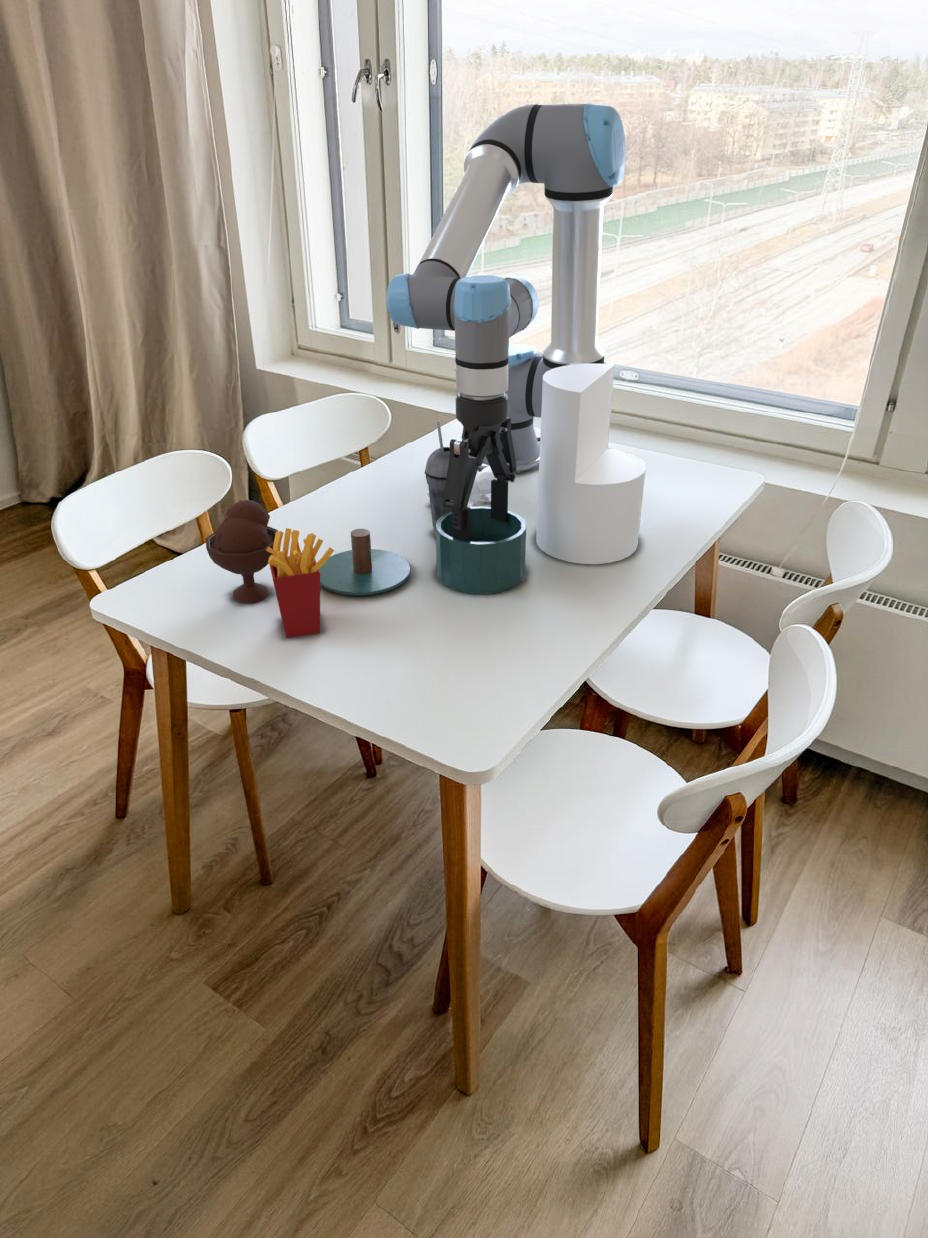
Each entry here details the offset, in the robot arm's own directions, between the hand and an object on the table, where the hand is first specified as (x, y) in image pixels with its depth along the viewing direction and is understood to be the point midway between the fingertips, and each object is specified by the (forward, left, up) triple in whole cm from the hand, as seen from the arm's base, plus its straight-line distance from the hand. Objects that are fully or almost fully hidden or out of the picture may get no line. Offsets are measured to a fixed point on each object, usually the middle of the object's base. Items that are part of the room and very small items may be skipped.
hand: (480, 532), depth 137 cm
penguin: (-21, -16, -7) cm, 27 cm away
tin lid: (+11, -16, -7) cm, 20 cm away
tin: (0, 0, -7) cm, 7 cm away
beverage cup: (-9, -13, -7) cm, 17 cm away
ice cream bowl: (+25, -27, -7) cm, 37 cm away
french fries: (+27, -14, -7) cm, 31 cm away
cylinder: (-19, +9, -7) cm, 23 cm away
